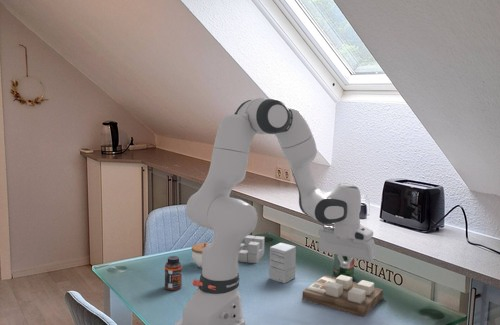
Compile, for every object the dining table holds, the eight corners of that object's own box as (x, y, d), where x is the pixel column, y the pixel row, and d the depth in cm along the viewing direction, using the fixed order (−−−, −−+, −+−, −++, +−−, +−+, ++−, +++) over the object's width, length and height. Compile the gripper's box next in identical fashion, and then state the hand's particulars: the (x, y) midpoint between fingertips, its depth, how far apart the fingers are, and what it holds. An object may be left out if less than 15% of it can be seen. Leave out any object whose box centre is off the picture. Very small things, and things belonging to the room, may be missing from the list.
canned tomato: (349, 281, 184) (350, 253, 182) (329, 277, 188) (331, 249, 186) (356, 275, 190) (358, 248, 189) (337, 270, 194) (338, 244, 193)
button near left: (337, 298, 163) (338, 289, 163) (325, 294, 166) (325, 285, 165) (342, 293, 167) (343, 284, 166) (331, 290, 169) (331, 281, 169)
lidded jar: (206, 258, 205) (206, 237, 204) (223, 265, 198) (223, 243, 196) (186, 265, 198) (186, 242, 196) (203, 272, 190) (203, 249, 189)
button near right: (360, 304, 159) (360, 295, 158) (347, 300, 161) (348, 291, 161) (365, 299, 162) (365, 290, 162) (352, 296, 165) (353, 287, 164)
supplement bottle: (173, 292, 171) (172, 261, 169) (161, 288, 175) (161, 257, 173) (185, 287, 176) (185, 257, 174) (173, 283, 179) (173, 253, 178)
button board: (363, 317, 156) (364, 307, 155) (302, 299, 168) (302, 290, 167) (382, 297, 170) (383, 288, 170) (324, 282, 182) (325, 274, 182)
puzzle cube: (238, 251, 216) (238, 233, 214) (264, 254, 212) (264, 236, 211) (229, 260, 204) (229, 241, 203) (256, 263, 201) (257, 245, 200)
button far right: (369, 296, 165) (369, 287, 165) (356, 292, 168) (357, 283, 167) (373, 291, 169) (374, 282, 168) (361, 288, 171) (362, 279, 171)
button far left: (347, 290, 170) (347, 281, 169) (335, 287, 172) (335, 278, 172) (351, 286, 173) (352, 277, 173) (340, 283, 176) (340, 274, 175)
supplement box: (279, 273, 191) (280, 242, 189) (295, 278, 186) (296, 246, 184) (268, 278, 185) (269, 246, 183) (284, 283, 181) (285, 251, 179)
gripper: (315, 226, 173) (314, 263, 175) (371, 237, 162) (369, 276, 164) (323, 222, 178) (321, 258, 180) (377, 232, 167) (375, 270, 169)
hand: (345, 267), depth 172 cm, fingers closed
